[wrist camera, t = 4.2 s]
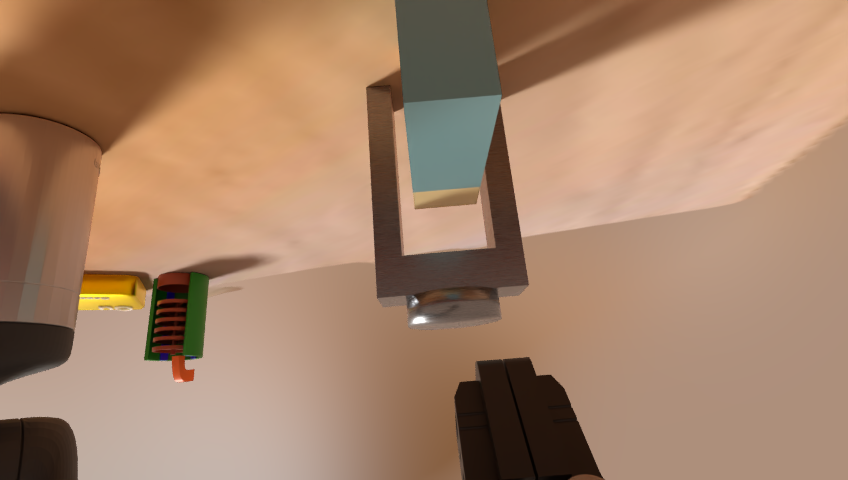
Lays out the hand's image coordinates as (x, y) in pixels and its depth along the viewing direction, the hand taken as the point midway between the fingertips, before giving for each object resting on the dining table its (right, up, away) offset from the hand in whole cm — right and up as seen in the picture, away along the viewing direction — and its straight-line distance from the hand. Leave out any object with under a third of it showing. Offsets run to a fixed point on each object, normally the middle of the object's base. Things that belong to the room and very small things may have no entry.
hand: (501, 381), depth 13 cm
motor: (-50, -3, +77) cm, 92 cm away
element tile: (-67, -4, +76) cm, 101 cm away
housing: (-2, +17, +27) cm, 32 cm away
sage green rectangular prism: (-2, +20, +17) cm, 26 cm away
